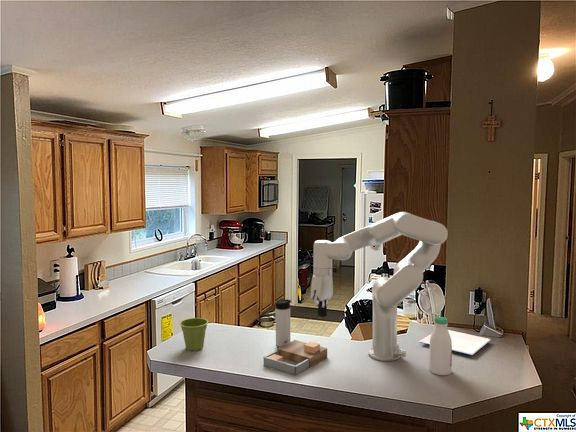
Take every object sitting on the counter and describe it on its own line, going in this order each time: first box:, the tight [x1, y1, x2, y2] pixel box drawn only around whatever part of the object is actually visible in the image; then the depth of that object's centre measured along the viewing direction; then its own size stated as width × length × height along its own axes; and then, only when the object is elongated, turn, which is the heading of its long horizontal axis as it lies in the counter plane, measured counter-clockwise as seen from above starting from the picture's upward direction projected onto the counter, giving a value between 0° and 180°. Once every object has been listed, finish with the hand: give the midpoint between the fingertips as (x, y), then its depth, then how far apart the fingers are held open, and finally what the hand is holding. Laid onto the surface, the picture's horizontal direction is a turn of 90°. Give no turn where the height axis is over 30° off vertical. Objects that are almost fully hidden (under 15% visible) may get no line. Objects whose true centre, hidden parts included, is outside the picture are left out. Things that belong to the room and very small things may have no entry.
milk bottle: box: [428, 316, 453, 376], centre depth 163 cm, size 8×8×20 cm
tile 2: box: [304, 341, 321, 354], centre depth 174 cm, size 4×4×2 cm
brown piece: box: [276, 339, 328, 369], centre depth 176 cm, size 16×12×4 cm
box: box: [263, 349, 310, 377], centre depth 168 cm, size 15×9×4 cm, turn 53°
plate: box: [418, 329, 491, 356], centre depth 190 cm, size 22×22×2 cm
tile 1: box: [268, 354, 283, 362], centre depth 170 cm, size 4×4×2 cm
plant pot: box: [179, 317, 209, 351], centre depth 188 cm, size 12×12×11 cm
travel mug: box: [274, 299, 292, 348], centre depth 189 cm, size 6×7×20 cm
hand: (322, 316), depth 179 cm, fingers closed
